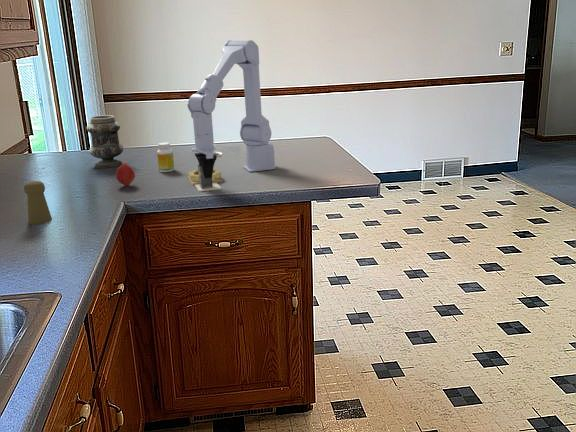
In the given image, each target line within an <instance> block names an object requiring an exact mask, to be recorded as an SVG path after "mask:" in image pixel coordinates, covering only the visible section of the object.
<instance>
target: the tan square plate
mask: <svg viewBox="0 0 576 432" xmlns="http://www.w3.org/2000/svg"><path fill="white" fill-rule="evenodd" d="M187 180H188V182H190V184H191V185H192V186H195V185H199V182H196V181H191V180H190V179H189V175H187ZM216 182H217V184H219V183H224V178H222V177H221V178H219V179H217V180H215V181H212V183H216Z"/></svg>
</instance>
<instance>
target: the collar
mask: <svg viewBox="0 0 576 432" xmlns="http://www.w3.org/2000/svg"><path fill="white" fill-rule="evenodd" d="M188 176H189V179H190V180H191V181H196V182H199V173H198V168H197V169H194V170H191V171H190V172H188ZM219 178H222V172H221V171H220V169H217V168H213V174H212V181H215V180H217V179H219ZM189 179H188V180H189Z"/></svg>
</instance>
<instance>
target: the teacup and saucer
mask: <svg viewBox="0 0 576 432" xmlns="http://www.w3.org/2000/svg"><path fill="white" fill-rule="evenodd" d="M214 147H215V150H214V152H213V156H217V157H219V156H222V155H223V152H221V151H217V145H216V144H215V143H214Z"/></svg>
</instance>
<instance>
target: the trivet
mask: <svg viewBox="0 0 576 432" xmlns="http://www.w3.org/2000/svg"><path fill="white" fill-rule="evenodd" d="M212 184H213V187H212V188H204V189H202V188H201V187H200V185H194V186H195V188H196V190H197V191H198V192H199V193H200V192H202V193H203V192H209V191H216V190H217V191H218V190H222V187H221V186H220V185H219V183H217V182H216V183H212Z"/></svg>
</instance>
